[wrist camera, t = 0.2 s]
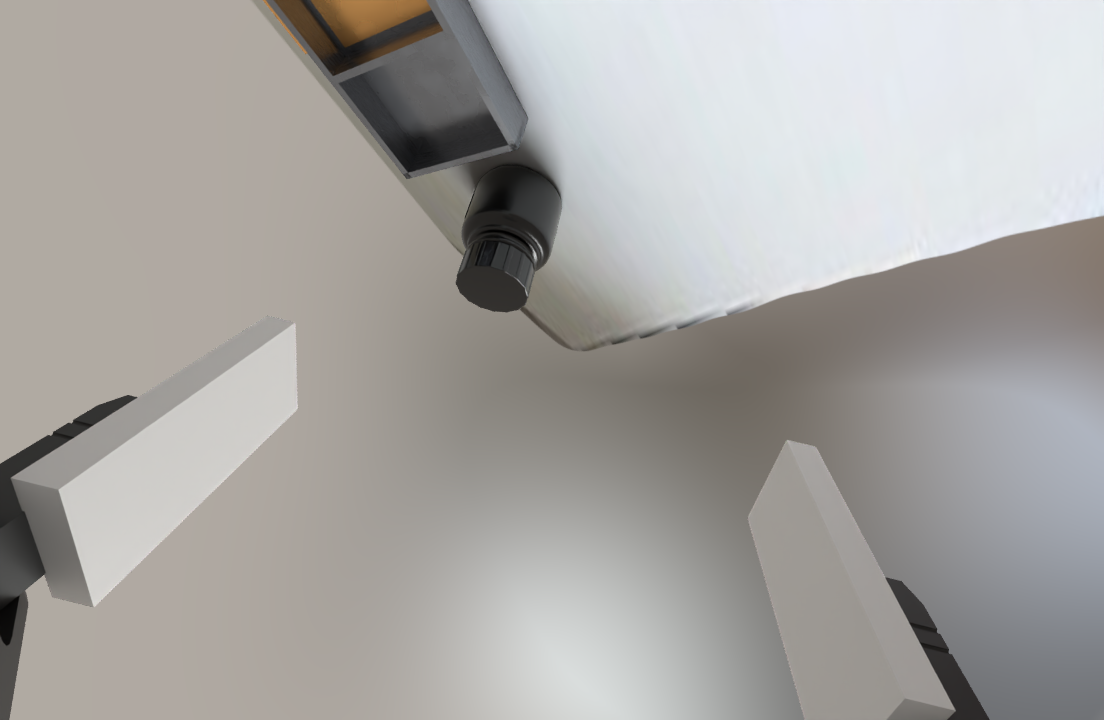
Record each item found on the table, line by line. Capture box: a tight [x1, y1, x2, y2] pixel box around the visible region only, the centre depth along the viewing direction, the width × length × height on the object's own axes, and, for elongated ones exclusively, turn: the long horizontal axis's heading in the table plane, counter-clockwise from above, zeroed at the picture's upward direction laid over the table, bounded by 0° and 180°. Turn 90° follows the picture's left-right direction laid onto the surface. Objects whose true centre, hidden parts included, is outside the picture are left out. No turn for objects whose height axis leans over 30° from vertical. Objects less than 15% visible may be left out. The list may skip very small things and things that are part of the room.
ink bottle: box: [456, 165, 562, 312], centre depth 52 cm, size 10×9×12 cm
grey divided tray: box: [263, 0, 528, 179], centre depth 41 cm, size 20×12×4 cm, turn 24°
